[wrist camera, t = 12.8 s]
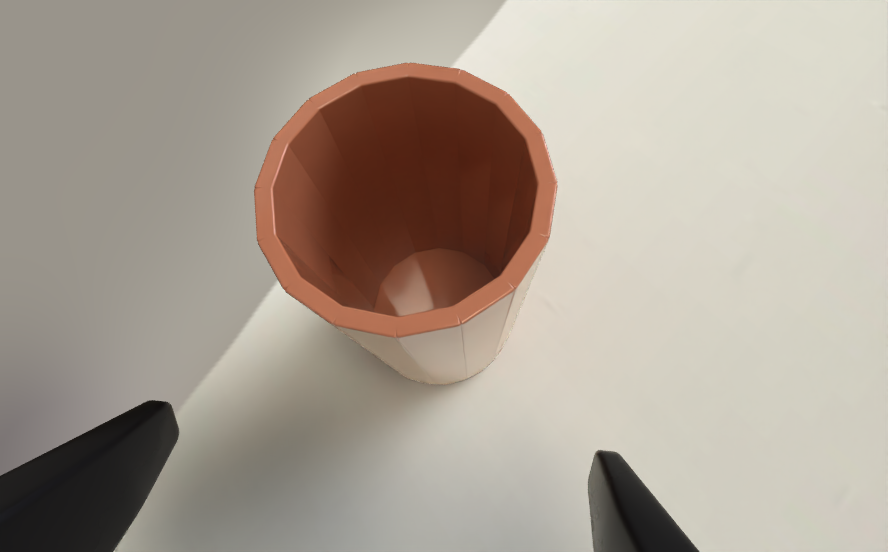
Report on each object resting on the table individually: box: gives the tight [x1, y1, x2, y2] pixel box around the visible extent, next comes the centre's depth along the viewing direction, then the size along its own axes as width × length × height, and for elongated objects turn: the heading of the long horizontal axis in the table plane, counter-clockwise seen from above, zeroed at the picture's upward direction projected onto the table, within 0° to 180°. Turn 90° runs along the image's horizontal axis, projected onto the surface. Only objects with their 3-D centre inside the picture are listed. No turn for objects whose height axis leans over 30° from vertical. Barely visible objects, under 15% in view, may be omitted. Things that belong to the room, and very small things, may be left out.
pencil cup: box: [254, 63, 557, 385], centre depth 16 cm, size 7×7×12 cm
